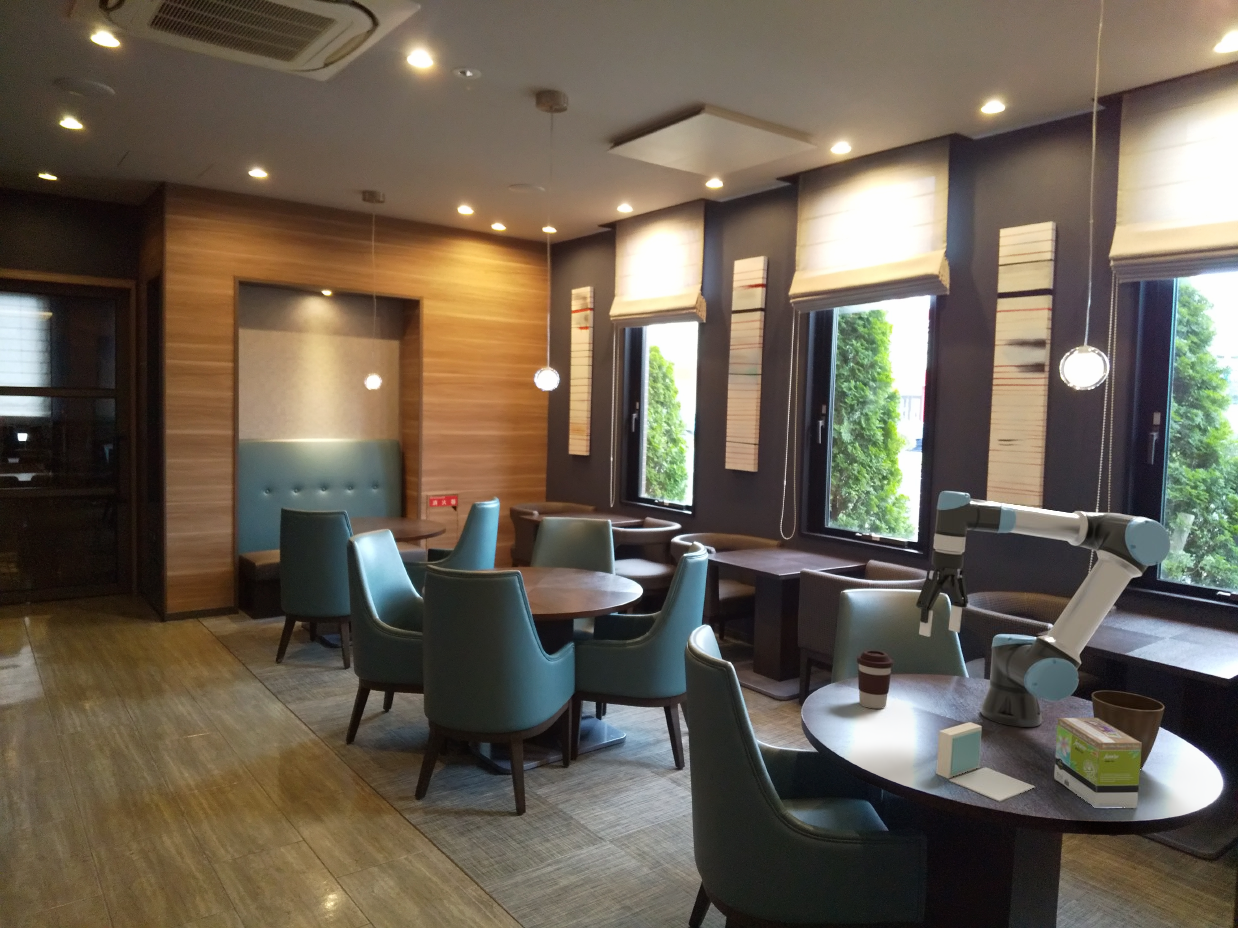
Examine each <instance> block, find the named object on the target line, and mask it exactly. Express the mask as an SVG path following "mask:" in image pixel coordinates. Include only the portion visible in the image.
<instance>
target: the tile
mask: <svg viewBox="0 0 1238 928" xmlns="http://www.w3.org/2000/svg"><path fill="white" fill-rule="evenodd" d="M982 727H983V726H982V725H980V724H977V723H975V722H974V723H973V722H971V721H970V722H969V721H968V722H965V723H961V724H959V725H955V726H952V727H948V728H945V729H941V730H938V744H937V757H936V758H937V760H936V775H939V776H941V777H943V778H946V779H952V778H954V777H957V776H960V775H963V774H966V773H968V772H972V771H974V770H977V769H980V758H981V757H980V756H981V744H982V743H981V742H982V730H983V729H982ZM976 768H977V769H976ZM973 769H974V770H973ZM967 771H968V772H967ZM965 772H966V773H965ZM962 773H963V774H962ZM959 774H960V775H959ZM956 775H957V776H956ZM953 776H954V777H953Z"/></svg>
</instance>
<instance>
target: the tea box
mask: <svg viewBox="0 0 1238 928" xmlns="http://www.w3.org/2000/svg"><path fill="white" fill-rule="evenodd" d="M1056 725H1057V727H1056V740H1055V741H1056V743H1055V757H1054V758H1055V761H1054V775H1053V777H1054V778H1053V779H1054V780H1055V781H1057V782H1059V783H1060V784H1062V785H1063V786H1065V787H1066V788H1067V789H1069V790H1070V791H1071V792H1072V793H1074V794H1075V795H1076V794H1077V795H1076V796H1078V797H1079V798H1080V797H1081V798H1080V799H1082V798H1083V799H1084V800H1085V801H1084V800H1083V799H1082V800H1083V801H1084V802H1086V801H1087V802H1089V803H1090V804H1092V805H1093V806H1095V807H1122V808H1124V807H1125V808H1133V809H1137V808H1138V802H1139V801H1138V799H1139V791H1140V789H1139V787H1140V784H1139V783H1140V776H1141V775H1140V773H1141V771H1140V762H1141V747H1142V743H1141V742H1139V741H1137V740H1135V739H1134V738H1132V737H1130V736H1129V735H1127V734H1125V733H1123V732H1121V731H1120V730H1118V729H1116V728H1114V727H1113V726H1111V725H1109V724H1107V723H1106V722H1104V721H1102V720H1100V719H1099V718H1094V717H1057V724H1056ZM1087 802H1086V803H1087ZM1134 807H1135V808H1134Z"/></svg>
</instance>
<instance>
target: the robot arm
mask: <svg viewBox="0 0 1238 928" xmlns="http://www.w3.org/2000/svg"><path fill="white" fill-rule="evenodd" d="M937 499H938V500H937V505H936V519H935V530H934V536H933V549H935V550H933V551H932V555H931V564H932V566H934V567H935V569H934V570H931V569H930V570H929V569H928V570H927V571H926V577H925V580H924V583H923V585H922V587H921V590H920V593H919V596H918V598H917V601H916V604H915V606H916V607H917V609H919V610H920V622H919V630H918V631H919V632H918V634H919V635H921V636H925V637H928V638H929V637H931V633H932V624H933V615H934V611H933V610H932V609H933V606H934V605H935V603H936V601H937V600H938V598H939V596H940V595H941V593H942V591H945V589H947V591H948V594H949V597H950V598H951V602H952V605H950V612H949V613H950V614H949V622H948V631H952V632H954V633H960V631H961V623H962V622H961V621H962V614H963V612H962V611H963V608H964V609H966V608H967V607H968V604H969V597H968V591H967V586H966V579H965V577H966V576H965V573H966V572H965V571H966V570H964V569H962V568H963V567H964V557H965V556H964V554H963V553H964V552H965V551H966V547H965V546H966V539H967V531H977V532H978V531H979V532H988V533H996V534H1000V533H1001V534H1002V533H1003V534H1008V533H1013V534H1021V535H1025V536H1034V537H1038V538H1039V537H1040V538H1045V539H1046V538H1047V539H1053V540H1058V541H1059V540H1061V541H1067V542H1068V544H1070V546H1071V545H1072V546H1076V547H1081V548H1086V549H1088V550H1092V551H1095V553H1096V554H1097V555H1096V556H1097V558H1098V559H1097V561H1096V562H1095V564H1094V565H1093V568H1092V569H1091V570H1090V571H1089V573H1088V575H1087V576H1086V577H1085V579H1084V580H1083V582H1082V583H1081V585H1080V586H1079V587H1078V589H1077V590H1076V592H1075V594H1074V595H1073V596H1072V597H1071V599H1070V600H1069V602H1068V604H1067V605H1066V607H1065V608H1064V609H1063V611H1062V612H1061V614H1060V615H1059V617H1058V618H1057V619H1056V621H1055V623H1054V624H1053V625H1052V627H1051V629H1050V630H1049V631H1048V632H1047V634H1046V635H1040V636H1037V637H1036V636H1031V635H1026V634H1014V633H1013V634H1009V633H1007V634H1006V633H999V634H996V635H994V637H993V638H992V644H991V659H990V676H989V688H988V689H987V691H986V694H985V697H984V698H983V702H982V703H981V711H980V713H981V715H982V716H983V717H984V718H985V719H988V720H990V721H993V722H995V723H999V724H1001V725H1002V724H1003V725H1006V726H1012V727H1022V728H1032V727H1037V726H1040V725H1041V724H1042V719H1043V718H1042V710H1041V708H1040V705H1039V704H1040V703H1039V700H1038V698H1039V699H1041V700H1042V701H1043V700H1044V701H1047V702H1062V701H1063V700H1066V699H1067V698H1069V697H1071V695H1073V694H1074V692H1075V691H1076V690H1077V687H1078V685H1079V681H1080V679H1079V673H1078V669H1079V667H1080V666H1081V664H1082V661H1081V658H1080V654H1081V653H1082V651H1083V650H1084V648H1085V647H1086V645H1087V644H1088V643H1089V641H1090V640H1091V638H1092V637H1093V635H1094V634H1095V633H1096V631H1097V630H1098V628H1099V626H1100V625H1101V623H1102V622H1103V621H1104V619H1105V618H1106V616H1107V614H1108V613H1109V612H1110V610H1111V609H1112V607H1113V606H1114V604H1115V603H1116V601H1117V600H1118V599H1119V597H1120V596H1121V594H1122V593H1123V591H1124V590H1125V589H1126V587H1127V585H1128V584H1129V583H1130V581H1131V580H1132V579H1133V578H1138V577H1142V576H1143V574H1144V572H1145V571H1146V570H1147V568H1148V567H1149V566H1150V567H1151V566H1155V565H1159V564H1161V563H1162V562H1164V561H1165V560H1166V558H1167V557H1168V555H1169V554H1170V550H1171V539H1170V535H1169V532H1168V530H1167V529H1166V528H1165V526H1164V525H1162V524H1161V523H1160V522H1158V521H1157V520H1154V519H1150V518H1148V517H1146V516H1145V517H1144V516H1135V515H1129V514H1122V513H1117V512H1094V511H1082V510H1075V511H1074V512H1072V513H1071V512H1064V511H1056V510H1049V509H1045V508H1044V509H1043V508H1036V507H1031V506H1030V507H1028V506H1023V505H1016V504H1012V503H1011V504H1009V503H1002V502H997V501H990V500H982V499H977V498H976V499H975V498H971V495H970V493H968V492H961V491H953V490H951V491H950V490H944V491H943V490H942V491H941V492H940V493H939V495H938V498H937Z"/></svg>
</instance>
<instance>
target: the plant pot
mask: <svg viewBox="0 0 1238 928" xmlns="http://www.w3.org/2000/svg"><path fill="white" fill-rule="evenodd" d="M1091 703H1092V713H1093V718H1099V719H1100V720H1102V721H1104V722H1106V723H1107V724H1109V725H1111V726H1113V727H1114V728H1116V729H1118V730H1120V731H1121V732H1123V733H1125V734H1127V735H1129V736H1130V737H1132V738H1134V739H1135V740H1137V741H1139V742H1141V743H1142V747H1141V762H1140V769H1141V770H1142V769H1143V767H1144V766H1145V765H1146V762H1147V761H1148V758H1149V756H1150V754H1151V752H1152V750H1153V747H1154V744H1155V743H1156V739H1157V736H1158V733H1159V730H1160V728H1161V727H1160V726H1161V724H1162V719H1163V717H1164V712H1165V705H1164V704H1163V703H1162V702H1160V701H1158V700H1156V699H1154V698H1150V697H1147V696H1144V695H1140V694H1136V693H1130V692H1124V691H1116V690H1097V691H1094V692H1092V693H1091Z"/></svg>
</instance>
